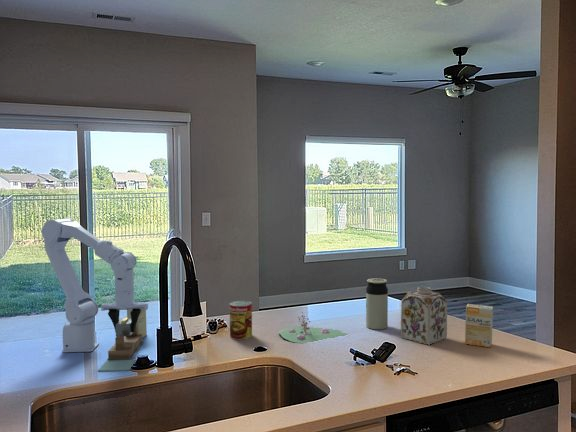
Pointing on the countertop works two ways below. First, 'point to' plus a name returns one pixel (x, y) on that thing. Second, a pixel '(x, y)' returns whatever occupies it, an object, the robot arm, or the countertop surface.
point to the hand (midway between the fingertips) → (125, 331)
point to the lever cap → (124, 327)
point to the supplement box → (479, 325)
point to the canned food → (240, 320)
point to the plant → (308, 333)
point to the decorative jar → (424, 316)
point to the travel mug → (377, 304)
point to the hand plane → (125, 346)
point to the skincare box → (140, 322)
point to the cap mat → (117, 365)
